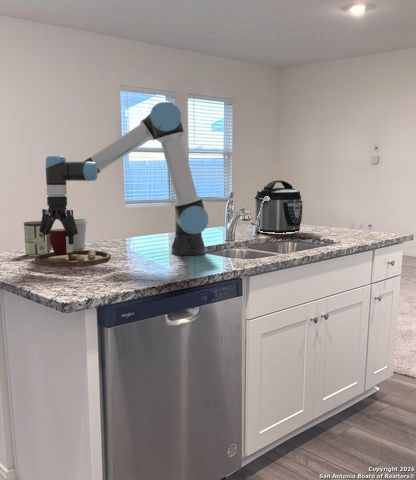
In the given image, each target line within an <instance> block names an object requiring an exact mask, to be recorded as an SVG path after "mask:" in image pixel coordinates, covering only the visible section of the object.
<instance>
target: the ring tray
mask: <svg viewBox="0 0 416 480" xmlns="http://www.w3.org/2000/svg"><path fill="white" fill-rule="evenodd" d="M89 251H95V253H96V256H95V259H94V260H89V259H88V253H89ZM78 255H83V256H84V261H78V262H77V260H76V257H77V256H78ZM111 258H112V254H111V253H109V252H106V251H103V250H94V249H93V250H92V249H77V250H73V252H70V253H67V254H66V255H56V254H55V253H54V251H50V252H49V253H44V254H40V255H38V256H34V263H36V264H38V265H40V266H45V267H58V268H59V267H62V268H63V267H64V268H65V267H84V266H92V265H93V266H94V265H99V264H100V265H101V264H103V263H107V262H109V261H110V260H111Z"/></svg>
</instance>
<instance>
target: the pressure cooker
mask: <svg viewBox="0 0 416 480" xmlns="http://www.w3.org/2000/svg"><path fill="white" fill-rule="evenodd" d="M276 183H280V184H281V185H282V186H283V187H275V185H276ZM293 187H294V186H293V185H292V184H290V183H289V182H287V181H285V180H281V179H279V180H273V181H270V182H269V183H267V184H266V185H264V187H263V189H260V190H257V191H256V195H255V196H254V200H255V216H254V217H255V218H254V219H255V223H256V220H257V216H258V214H259V211H260V208H261V204H263V206H262V210H261V214H260V219H259V227H260V231H263V232H275V233H283V232H284V233H286V232H295V231H299V232H300V230H301V224H302V219H303V218H302V217H303V201H302V195H301V191H299V190H296V189H295V188H293ZM265 196H269V197H270V199H271V202H268V201H264V203H262V201H263V199H264V197H265Z"/></svg>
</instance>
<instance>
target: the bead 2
mask: <svg viewBox="0 0 416 480" xmlns="http://www.w3.org/2000/svg"><path fill="white" fill-rule="evenodd" d="M88 259H89V260H94V259H95V254H94V253H89V254H88Z"/></svg>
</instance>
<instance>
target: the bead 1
mask: <svg viewBox="0 0 416 480" xmlns="http://www.w3.org/2000/svg"><path fill="white" fill-rule="evenodd" d="M76 260H77V262H78V261H84V256H83V255H78V256H77V257H76Z"/></svg>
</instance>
